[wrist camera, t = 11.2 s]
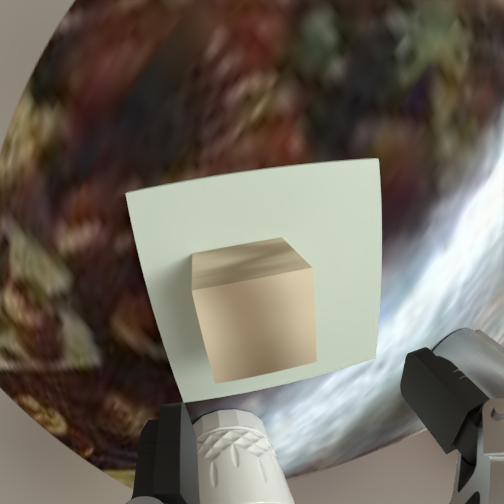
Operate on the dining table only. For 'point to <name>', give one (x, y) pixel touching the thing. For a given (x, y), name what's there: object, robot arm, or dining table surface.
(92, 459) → the dining table surface
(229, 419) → the white cup
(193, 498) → the robot arm
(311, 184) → the sage board
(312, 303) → the beech cube
